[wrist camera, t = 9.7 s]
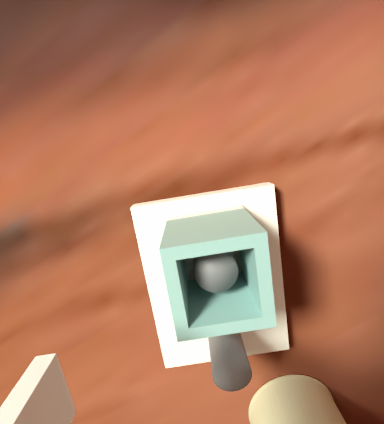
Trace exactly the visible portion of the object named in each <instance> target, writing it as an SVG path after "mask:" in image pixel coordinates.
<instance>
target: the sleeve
mask: <svg viewBox="0 0 384 424" xmlns="http://www.w3.org/2000/svg"><path fill="white" fill-rule="evenodd" d="M232 251H236V255H237V262H236V264H237V267H238V277H237V280H236V282H235V283H234V285H233V286H232V287H231V288H229V289H228V290H226V291H223V292H218V293H213V292H209V291H206V290H204V289H203V288H202V287H201V286H200V285H199V284H198V283H197V281H196V278H195V269H190V270H188V269H187V263H186V259H188V258H194V257H200V256H207V255H213V254H219V253H225V252H232ZM159 252H160V257H161V262H162V267H163V272H164V277H165V282H166V287H167V292H168V297H169V302H170V307H171V312H172V317H173V322H174V327H175V332H176V337H177V342H182V341H189V340H195V339H202V338H208V337H215V336H221V335H227V334H234V333H240V332H247V331H253V330H260V329H266V328H273V327H277V323H276V313H275V304H274V294H273V284H272V274H271V264H270V255H269V245H268V235H267V231H266V230H265V229H264V228H263V227H262V226H261V225H260V224H259V223H258V222H257V221H256V220H255V219H254V218H253V217H252V216H251V215H250V214H249V213H248V211H247V210H246V209H245V208H244V207H243V206H242V205H241V204H240V203H236V204H230V205H224V206H217V207H211V208H205V209H199V210H193V211H187V212H181V213H174V214H168V217H167V220H166V224H165V228H164V232H163V236H162V239H161V243H160V247H159Z"/></svg>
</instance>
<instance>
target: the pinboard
mask: <svg viewBox="0 0 384 424" xmlns="http://www.w3.org/2000/svg"><path fill="white" fill-rule="evenodd" d="M236 203H240V204H241V205H242V206H243V207H244V208H245V209H246V210H247V211H248V213H249V214H250V215H251V216H252V217H253V218H254V219H255V220H256V221H257V222H258V223H259V224H260V225H261V226H262V227H263V228H264V229H265V230H266V231H267V235H268V245H269V255H270V264H271V274H272V284H273V294H274V304H275V313H276V323H277V327H273V328H266V329H260V330H253V331H247V332H240V333H234V334H227V335H221V336H215V337H208V338H202V339H195V340H189V341H182V342H177V337H176V332H175V327H174V322H173V317H172V312H171V307H170V302H169V297H168V292H167V287H166V282H165V277H164V272H163V267H162V262H161V257H160V252H159V247H160V243H161V239H162V236H163V232H164V228H165V224H166V220H167V217H168V214H174V213H181V212H187V211H193V210H199V209H205V208H211V207H217V206H224V205H230V204H236ZM130 209H131V214H132V218H133V223H134V228H135V232H136V237H137V241H138V246H139V250H140V255H141V259H142V264H143V268H144V273H145V278H146V282H147V287H148V291H149V296H150V300H151V305H152V309H153V314H154V319H155V323H156V328H157V332H158V337H159V341H160V346H161V350H162V355H163V360H164V364H165V368H171V367H177V366H184V365H190V364H197V363H203V362H210V361H211V367H212V376H213V381H214V383H215V384H216V386H218V387H219V388H220V389H222V390H225V391H238V390H240V389H243V388H244V387H245V386H247V385H248V383H249V382H250V380H251V377H252V371H251V367H250V364H249V361H248V357H247V356H249V355H255V354H262V353H268V352H275V351H281V350H288V349H289V340H288V329H287V318H286V308H285V297H284V286H283V275H282V264H281V253H280V242H279V231H278V220H277V210H276V199H275V188H274V184H272V183H270V182H267V183H261V184H255V185H248V186H242V187H236V188H230V189H224V190H218V191H212V192H206V193H199V194H193V195H187V196H181V197H175V198H169V199H163V200H157V201H150V202H144V203H138V204H133V205H132V207H131V208H130ZM236 262H237V255H236V251H232V252H225V253H219V254H213V255H207V256H200V257H194V258H188V259H186V263H187V269H188V270H190V269H195V278H196V281H197V283H198V284H199V285H200V286H201V287H202V288H203V289H204V290H206V291H209V292H213V293H218V292H223V291H226V290H228V289H229V288H231V287H232V286H233V285H234V283H235V282H236V280H237V277H238V267H237V264H236Z"/></svg>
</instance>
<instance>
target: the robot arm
mask: <svg viewBox="0 0 384 424" xmlns="http://www.w3.org/2000/svg"><path fill="white" fill-rule="evenodd" d="M75 413H76V409H75V406H74V404H73V401H72V398H71V395H70V392H69V389H68V386H67V383H66V380H65V377H64V374H63V372H62V369H61V366H60V363H59V360H58V357H57V354H56V353H55V354H48V355H42V356H36V357H35V358H34V360H33V361H32V362H31V364H30V365H29V367H28V368H27V370H26V371H25V373H24V374H23V375H22V377H21V378H20V380H19V381H18V383H17V384H16V385H15V387H14V388H13V390H12V391H11V393H10V394H9V396H8V397H7V398H6V400H5V401H4V403H3V404H2V406H1V407H0V424H71V423H72V421H73V418H74V416H75Z"/></svg>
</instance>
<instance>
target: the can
mask: <svg viewBox="0 0 384 424" xmlns="http://www.w3.org/2000/svg"><path fill="white" fill-rule="evenodd" d="M249 420H250V423H251V424H346V422H345V420H344V419H343V417H342V415H341V413H340V412H339V410H338V408H337V406H336V404H335V402H334V400H333V397H332V395H331V393H330V391H329V390H328V388H327V387H326V386H325V385H324V384H323V383H321V382H320V381H318V380H317V379H315V378H312V377H310V376H306V375H299V374H291V375H284V376H281V377H277V378H275V379H273V380H271V381H269V382H267V383H266V384H264V385H263V386H262V387H261V388H260V389H259V390H258V391H257V392H256V393H255V395H254V396H253V398H252V400H251V402H250V406H249Z"/></svg>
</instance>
